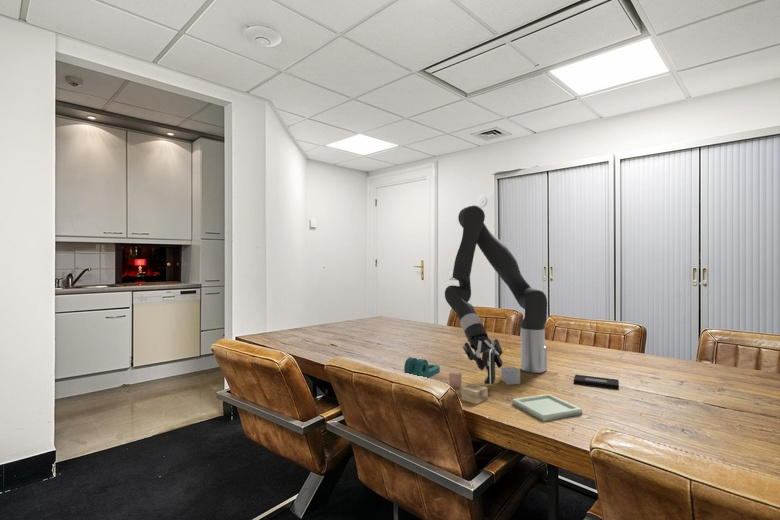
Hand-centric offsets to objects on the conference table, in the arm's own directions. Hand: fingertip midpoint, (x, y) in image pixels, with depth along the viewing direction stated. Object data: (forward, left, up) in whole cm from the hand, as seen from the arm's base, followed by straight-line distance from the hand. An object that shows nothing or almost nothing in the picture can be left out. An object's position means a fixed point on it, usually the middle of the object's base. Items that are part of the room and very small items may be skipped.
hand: (491, 367), depth 141 cm
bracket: (+14, -25, -8) cm, 30 cm away
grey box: (-12, -5, -8) cm, 15 cm away
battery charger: (0, -2, -6) cm, 6 cm away
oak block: (+10, +6, -8) cm, 14 cm away
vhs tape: (-39, +7, -9) cm, 41 cm away
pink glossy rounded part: (+10, -7, -8) cm, 15 cm away
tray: (-6, +21, -8) cm, 23 cm away
